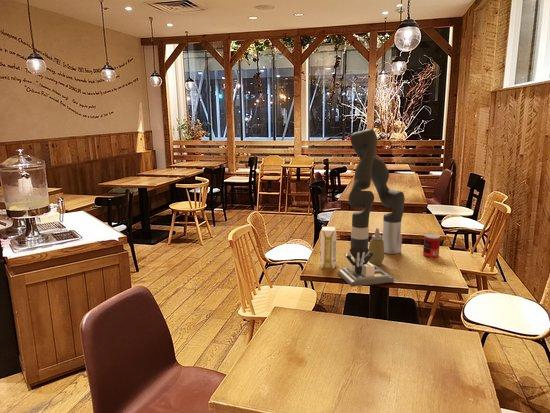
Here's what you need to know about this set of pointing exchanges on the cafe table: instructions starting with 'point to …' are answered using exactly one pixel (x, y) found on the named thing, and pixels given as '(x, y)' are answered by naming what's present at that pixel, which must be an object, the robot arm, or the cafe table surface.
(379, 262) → the squeeze bottle
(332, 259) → the juice carton
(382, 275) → the grey tray
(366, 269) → the tab
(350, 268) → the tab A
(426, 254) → the canned food
